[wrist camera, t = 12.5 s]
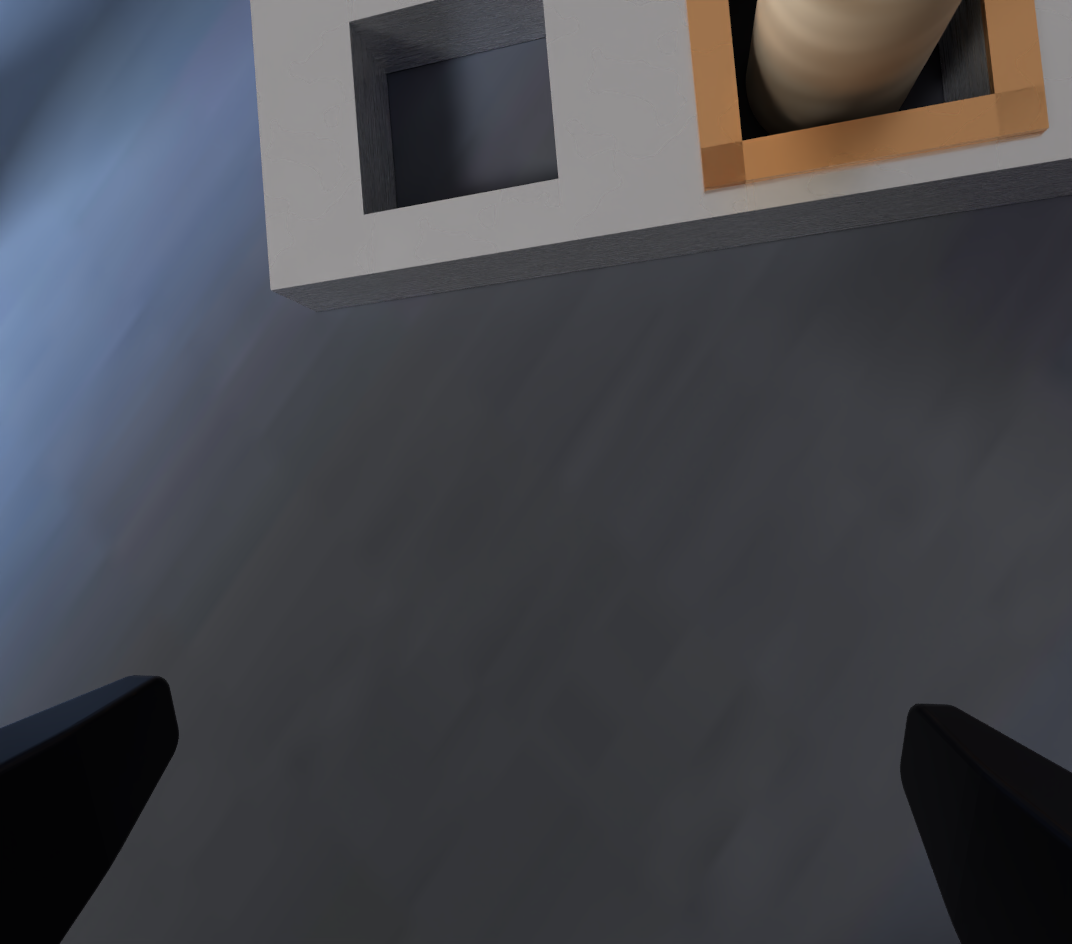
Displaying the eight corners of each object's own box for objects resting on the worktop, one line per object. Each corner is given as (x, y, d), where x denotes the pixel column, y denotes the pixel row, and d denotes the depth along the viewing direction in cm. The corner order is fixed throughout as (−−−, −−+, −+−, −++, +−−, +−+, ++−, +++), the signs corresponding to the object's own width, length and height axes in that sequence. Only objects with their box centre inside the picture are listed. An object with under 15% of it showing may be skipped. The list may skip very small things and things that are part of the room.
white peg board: (1048, -143, 18) (1111, -253, 15) (1088, 191, 18) (1159, 140, 15) (296, 43, 22) (245, -15, 20) (316, 311, 22) (266, 288, 20)
